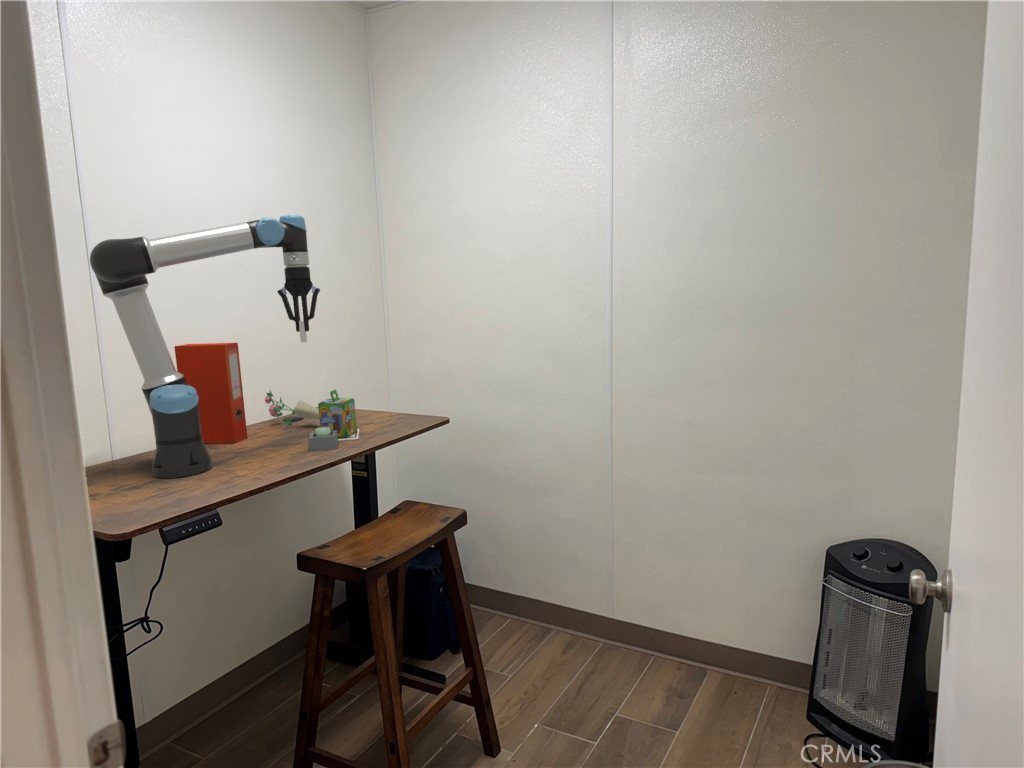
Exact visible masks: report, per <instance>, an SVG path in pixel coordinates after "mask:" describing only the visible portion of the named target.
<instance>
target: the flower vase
mask: <svg viewBox="0 0 1024 768" xmlns="http://www.w3.org/2000/svg"><path fill="white" fill-rule="evenodd" d="M266 395H267V396H265V399H264V402H265V404H267V405H269V404H271V405H270V406H269V408H268V412H269V415H270V416H271V417H273V418H278V417H279V418H280V417H282V416H283V415H284V413H283V412H282V411H288V412H289V411H291V413H290V412H289V413H288V415H290V416H287V417H284V419H283V423H285V422H286V426H287V427H289V426H290V424H291V425H292V420H291V419H292V416H293V415H296V417H297V418H305V419H312V420H313V419H315V420H319V421H320V417H319V408H317V407H315V406H313V405H311V404H310V403H307V402H305V401H303V400H299V401H297V404H296V405H295V407H294V408H293V409H292V408H290V407H289V406H288V405H287V404H285V403H283V400H282V397H281V396H280V398H279V401H278V400H275V399H276V397H275V396H274V395H273V393H272V391H271V389H269V392H266ZM273 398H274V399H273ZM271 402H272V403H271ZM275 402H276V403H275ZM280 404H281V405H280Z"/></svg>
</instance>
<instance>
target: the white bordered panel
mask: <svg viewBox="0 0 1024 768" xmlns="http://www.w3.org/2000/svg"><path fill="white" fill-rule="evenodd" d="M359 435H360V428H357V432H355V433H353V434H352V435H350V436H348V437H338V442H341V441H343V442H345V441H355V440H359V437H360V436H359Z"/></svg>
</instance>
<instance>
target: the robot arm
mask: <svg viewBox="0 0 1024 768" xmlns="http://www.w3.org/2000/svg"><path fill="white" fill-rule="evenodd" d="M305 220H306V219H305V218H304V217H303V216H301V215H299V214H298V215H297V214H294V215H293V214H288V215H287V214H286V215H281V216H279V220H278V219H276V218H274V217H269V216H268V217H263V218H261V219H257V220H250V221H247V222H246V221H245V222H239V223H234V224H227V225H223V226H217V227H212V228H205V229H200V230H195V231H189V232H183V233H178V234H172V235H167V236H162V237H157V238H156V237H155V238H149V239H148V238H147V237H145V236H137V237H133V238H131V237H130V238H114V239H113V238H112V239H111V238H109V239H105V240H102V241H101V242H98V243H97V244H96V245H95V246H94V247H93V248H92V250H91V253H90V254H89V264H90V267H91V270H92V272H93V273H94V275H95V278H96V280H97V282H98V285H99V287H100V290H101V292H102V294H103V295H102V296H104V297H106V298H108V299H110V300H111V301H112V303H113V306H114V307H115V310H116V313H117V315H118V318H119V321H120V323H121V326H122V328H123V329H124V333H125V335H126V338H127V340H128V343H129V345H130V348H131V351H132V353H133V355H134V358H135V361H136V363H137V366H138V367H139V370H140V372H141V375H142V377H143V380H144V381H143V383H142V386H141V391H142V394H143V396H144V398H145V401H146V403H147V405H148V406H147V407H148V409H149V410H148V411H150V414H151V417H152V423H153V431H154V441H155V451H154V457H153V460H152V465H151V472H152V476H153V477H155V478H158V479H175V478H177V479H178V478H183V477H189V476H194V475H197V474H201V473H204V472H207V471H209V470H210V469H213V464H214V463H213V460H212V459H213V458H212V456H211V454H210V453H209V450H208V448H207V446H206V443H204V442H203V438H202V430H201V422H200V414H199V405H198V400H199V399H198V395H197V391H196V389H195V388H194V387H192V386H189V385H188V384H187V382H186V379H185V377H184V375H183V374H181V373H179V372H177V368H176V367H175V364H174V362H173V359H172V356H171V354H170V351H169V348H168V346H167V344H166V341H165V339H164V336H163V333H162V331H161V328H160V326H159V323H158V320H157V318H156V315H155V312H154V311H153V308H152V305H151V302H150V300H149V297H148V295H147V291H146V290H147V289H148V287H149V285H150V284H149V281H148V278H147V275H148V274H154V273H156V272H157V271H158V269H159V268H163V267H164V268H165V267H170V266H175V265H180V264H185V263H190V262H195V261H199V260H205V259H209V258H214V257H219V256H225V255H229V254H233V253H239V252H243V251H245V252H246V251H249V250H254V249H261V248H263V249H266V248H267V249H269V248H270V249H271V248H281V249H282V257H283V258H282V259H283V265H284V266H285V267H284V269H283V270H284V279H285V280H284V281H285V283H283V285H284V286H283V287H282V288H281V289H278V290H277V294H278V295H279V296H280V297H281V300H282V302H283V305H284V309H285V311H286V315H287V317H288V319H289V321H293V322H295V331H296V332H298V333H299V339H300V343H307V341H308V338H307V332H309V331H310V324H309V323H310V320H313V319H314V318H315V312H316V308H317V302H318V301H317V300H318V295H319V293H320V292H321V289H320V288H318V287H316V286H315V285H314V284H313V282H312V279H311V270H310V267H309V265H310V258H309V250H308V240H307V239H308V238H307V235H308V234H307V232H308V231H307V226H306V221H305ZM287 292H288V294H290V295H291V296H292V304H293V310H292V308H291V305H290V302H289V299H288V298H289V297H288V296H287V295H288V294H287ZM310 292H311V293H312V296H311V303H310V310H308V308H309V307H308V297H307V296H308V295H309V293H310ZM299 297H300V298H301V307H302V308H301V309H302V310H301V311H302V318H303V319H302V320H301V314H300V303H299ZM293 312H294V313H293Z"/></svg>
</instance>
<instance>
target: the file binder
mask: <svg viewBox="0 0 1024 768" xmlns="http://www.w3.org/2000/svg"><path fill="white" fill-rule="evenodd" d="M174 355H175V363H176V371H177V372H179V373H181V374H183V375H184V377H185V379H186V382H187V384H188V385H189V386H192V387H194V388H195V389H196V391H197V395H198V399H199V400H198V405H199V414H200V422H201V430H202V438H203V442H204V444H237V443H239V442H242V441H243V440H246V439H248V429H247V421H246V411H245V410H246V409H245V402H244V401H245V400H244V393H243V392H244V391H243V382H242V381H243V380H242V373H241V372H242V371H241V363H240V351H239V344H238V342H217V343H216V342H213V343H211V342H210V343H209V342H208V343H186V344H185V343H184V344H180V345H174Z"/></svg>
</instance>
